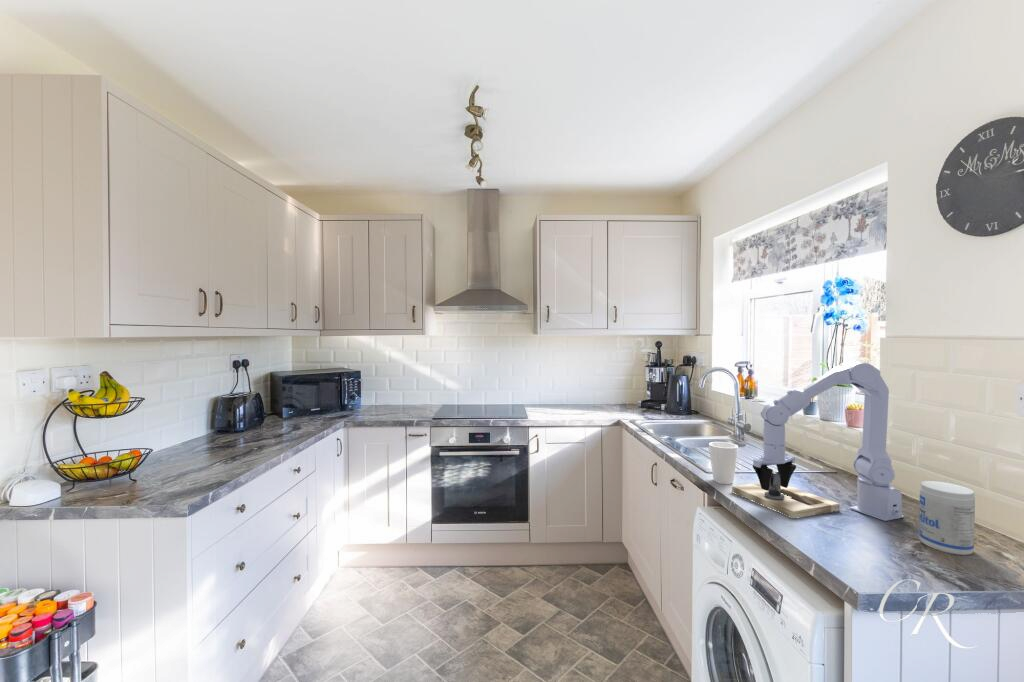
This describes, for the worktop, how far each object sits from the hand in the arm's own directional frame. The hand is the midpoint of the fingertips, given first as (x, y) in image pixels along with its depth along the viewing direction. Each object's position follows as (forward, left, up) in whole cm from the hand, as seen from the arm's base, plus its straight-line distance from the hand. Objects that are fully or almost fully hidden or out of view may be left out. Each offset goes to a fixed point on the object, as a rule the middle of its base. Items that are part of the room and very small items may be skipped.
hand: (774, 488), depth 134 cm
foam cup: (+22, -2, -5) cm, 23 cm away
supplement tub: (-34, -16, -5) cm, 38 cm away
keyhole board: (+1, -5, -5) cm, 7 cm away
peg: (0, 0, -3) cm, 3 cm away
